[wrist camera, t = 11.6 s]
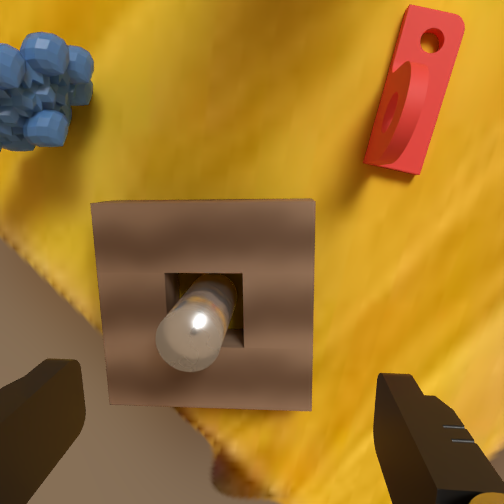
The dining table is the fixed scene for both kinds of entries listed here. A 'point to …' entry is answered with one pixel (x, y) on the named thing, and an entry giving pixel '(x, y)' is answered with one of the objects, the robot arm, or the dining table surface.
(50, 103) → the grapes
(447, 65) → the bracket
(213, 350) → the peg
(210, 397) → the socket block
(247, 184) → the dining table surface
